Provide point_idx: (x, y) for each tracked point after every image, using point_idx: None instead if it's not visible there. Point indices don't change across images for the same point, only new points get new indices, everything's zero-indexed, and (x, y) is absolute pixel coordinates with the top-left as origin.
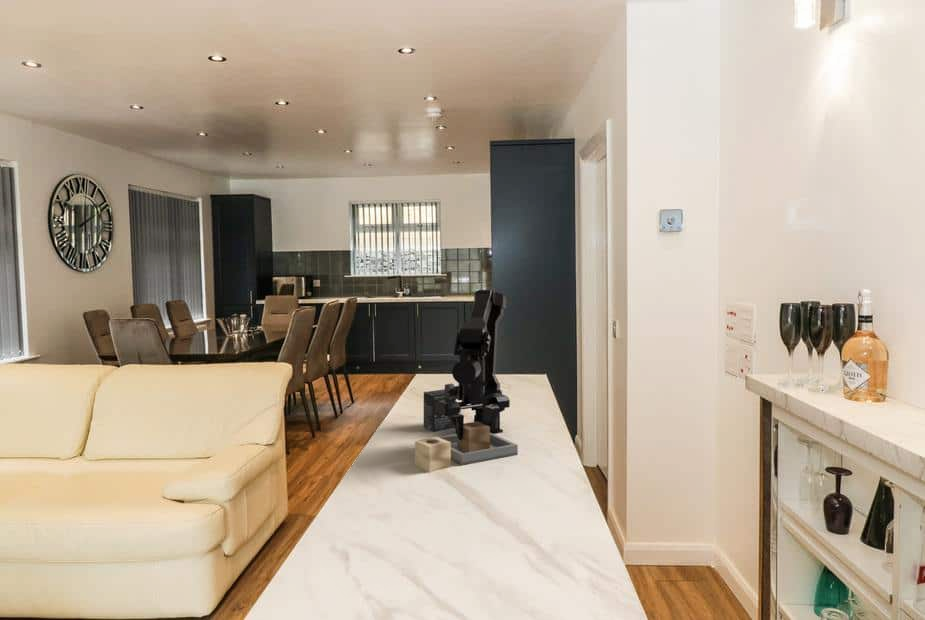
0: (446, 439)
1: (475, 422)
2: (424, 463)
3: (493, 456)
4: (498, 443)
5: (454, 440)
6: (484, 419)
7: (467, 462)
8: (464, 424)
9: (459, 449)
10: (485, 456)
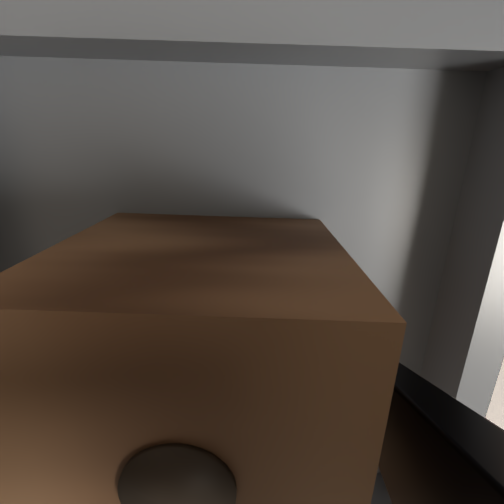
0: (34, 46)
1: (326, 359)
2: None
3: None
4: (437, 345)
5: (150, 53)
6: (489, 493)
7: None
8: (71, 367)
9: None
10: None
